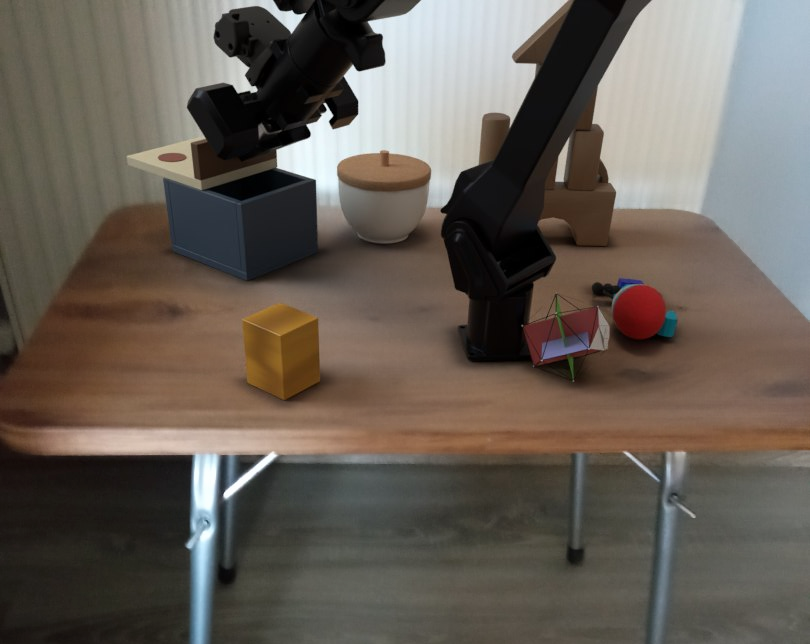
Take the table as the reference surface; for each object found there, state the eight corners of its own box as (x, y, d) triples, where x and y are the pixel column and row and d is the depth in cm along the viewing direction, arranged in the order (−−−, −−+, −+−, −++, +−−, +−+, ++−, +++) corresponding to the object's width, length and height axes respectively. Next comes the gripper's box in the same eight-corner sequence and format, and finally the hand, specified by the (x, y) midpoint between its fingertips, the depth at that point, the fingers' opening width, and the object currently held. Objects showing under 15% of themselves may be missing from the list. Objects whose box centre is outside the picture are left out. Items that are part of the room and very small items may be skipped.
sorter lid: (277, 167, 99) (275, 123, 96) (201, 190, 92) (197, 144, 89) (204, 144, 105) (200, 103, 102) (127, 165, 98) (120, 121, 95)
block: (320, 381, 78) (318, 317, 75) (284, 400, 76) (280, 335, 72) (283, 364, 81) (280, 302, 77) (247, 383, 78) (241, 318, 74)
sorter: (318, 252, 101) (316, 179, 96) (247, 281, 95) (241, 204, 90) (244, 225, 107) (238, 155, 102) (172, 251, 100) (162, 177, 95)
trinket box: (427, 253, 102) (432, 168, 96) (334, 249, 102) (332, 163, 96) (427, 220, 111) (432, 140, 105) (341, 216, 110) (340, 136, 105)
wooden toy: (596, 226, 111) (635, -8, 95) (607, 246, 106) (651, 2, 90) (472, 223, 110) (491, -13, 94) (477, 243, 105) (498, -3, 89)
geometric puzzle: (502, 360, 78) (568, 295, 74) (506, 325, 83) (568, 263, 79) (561, 409, 80) (629, 350, 76) (561, 372, 86) (625, 315, 81)
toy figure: (582, 303, 97) (602, 344, 84) (593, 256, 94) (615, 291, 81) (651, 312, 97) (682, 355, 84) (663, 266, 94) (697, 302, 81)
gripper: (336, -32, 87) (263, 74, 99) (188, -14, 75) (125, 103, 87) (397, 72, 88) (317, 164, 100) (260, 106, 77) (189, 205, 89)
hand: (241, 157), depth 94 cm, fingers closed, pressing on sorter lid
